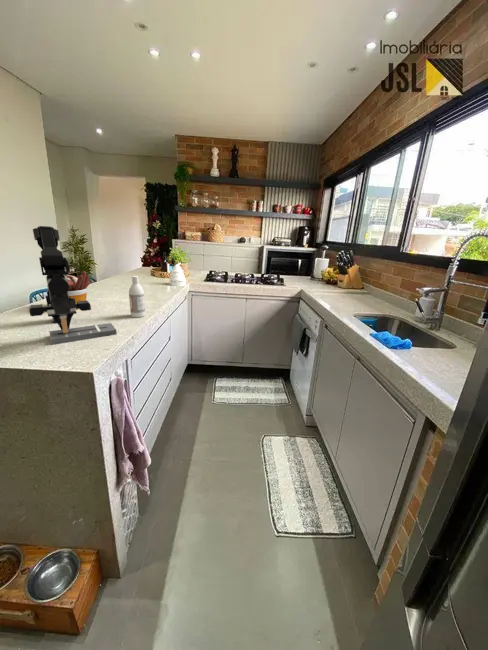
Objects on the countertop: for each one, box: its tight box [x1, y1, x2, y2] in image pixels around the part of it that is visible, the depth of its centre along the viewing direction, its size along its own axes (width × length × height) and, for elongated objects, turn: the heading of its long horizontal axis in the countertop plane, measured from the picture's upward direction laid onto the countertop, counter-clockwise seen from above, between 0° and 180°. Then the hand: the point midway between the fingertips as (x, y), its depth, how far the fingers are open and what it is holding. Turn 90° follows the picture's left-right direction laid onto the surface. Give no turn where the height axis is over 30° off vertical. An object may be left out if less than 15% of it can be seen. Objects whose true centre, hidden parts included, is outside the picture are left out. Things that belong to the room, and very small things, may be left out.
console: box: [48, 322, 118, 346], centre depth 106 cm, size 10×22×2 cm, turn 127°
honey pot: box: [169, 262, 187, 287], centre depth 217 cm, size 13×13×18 cm
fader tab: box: [59, 314, 68, 333], centre depth 101 cm, size 3×2×7 cm, turn 37°
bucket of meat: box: [46, 270, 91, 310], centre depth 139 cm, size 20×16×20 cm
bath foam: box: [128, 275, 146, 318], centre depth 131 cm, size 7×7×20 cm
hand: (65, 329), depth 102 cm, fingers closed on fader tab, 2 cm apart
